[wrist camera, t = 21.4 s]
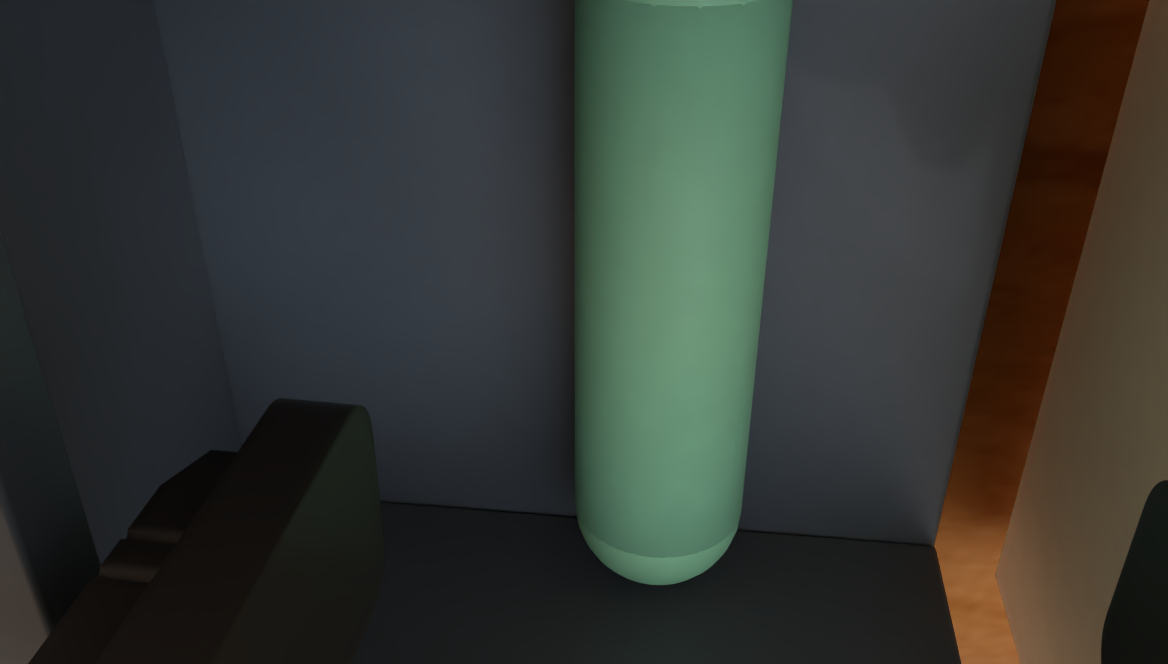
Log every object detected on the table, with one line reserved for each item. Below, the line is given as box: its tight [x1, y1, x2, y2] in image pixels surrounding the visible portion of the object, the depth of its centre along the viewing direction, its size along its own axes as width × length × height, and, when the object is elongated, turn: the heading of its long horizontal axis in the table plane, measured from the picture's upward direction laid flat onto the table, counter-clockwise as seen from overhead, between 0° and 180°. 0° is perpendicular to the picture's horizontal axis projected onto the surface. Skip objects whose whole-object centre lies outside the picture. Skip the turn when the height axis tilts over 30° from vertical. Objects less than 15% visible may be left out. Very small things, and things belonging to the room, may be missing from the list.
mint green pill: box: [574, 0, 793, 585], centre depth 13 cm, size 9×2×2 cm, turn 0°
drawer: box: [0, 0, 1168, 664], centre depth 11 cm, size 19×12×7 cm, turn 90°
